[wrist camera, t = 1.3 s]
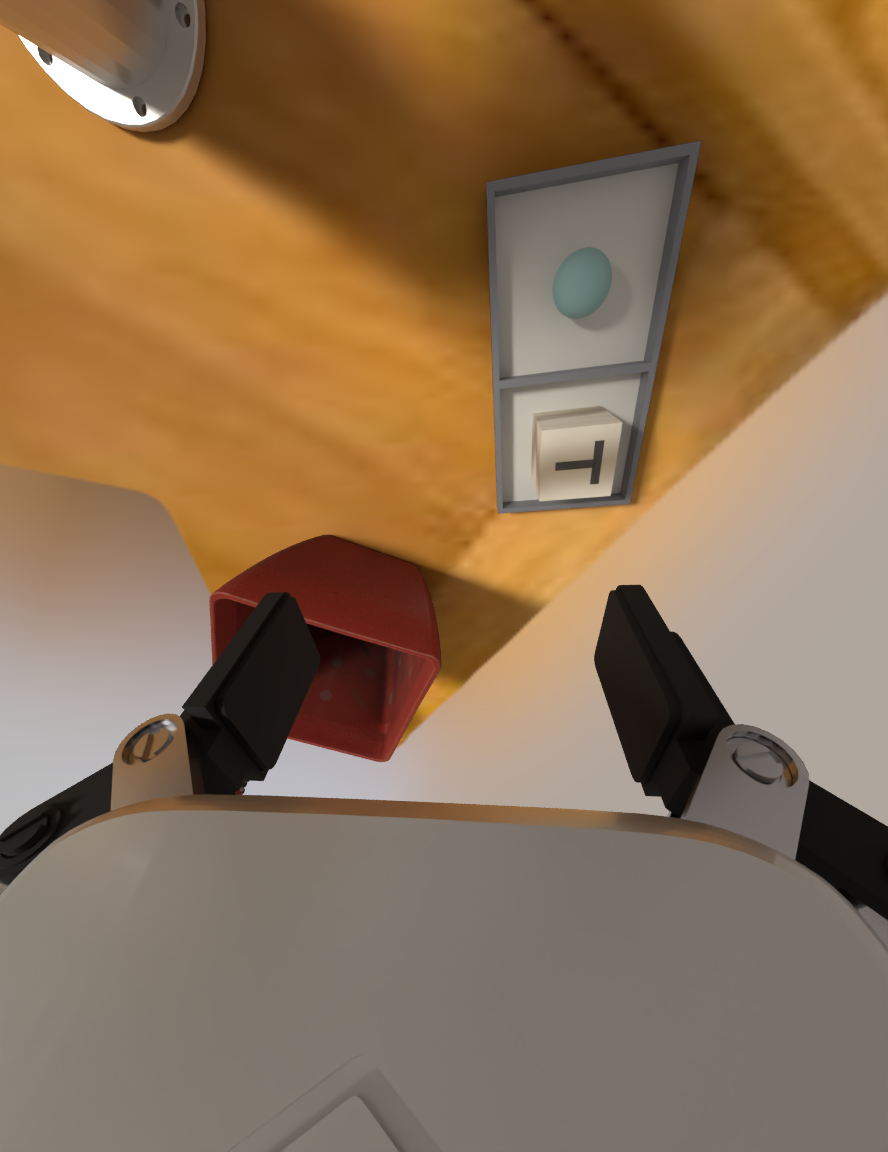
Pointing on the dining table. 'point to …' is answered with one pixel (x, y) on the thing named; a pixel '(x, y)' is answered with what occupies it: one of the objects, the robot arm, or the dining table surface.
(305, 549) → the plant pot
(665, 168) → the compartment box
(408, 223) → the dining table surface
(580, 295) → the teal ball
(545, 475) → the letter cube
